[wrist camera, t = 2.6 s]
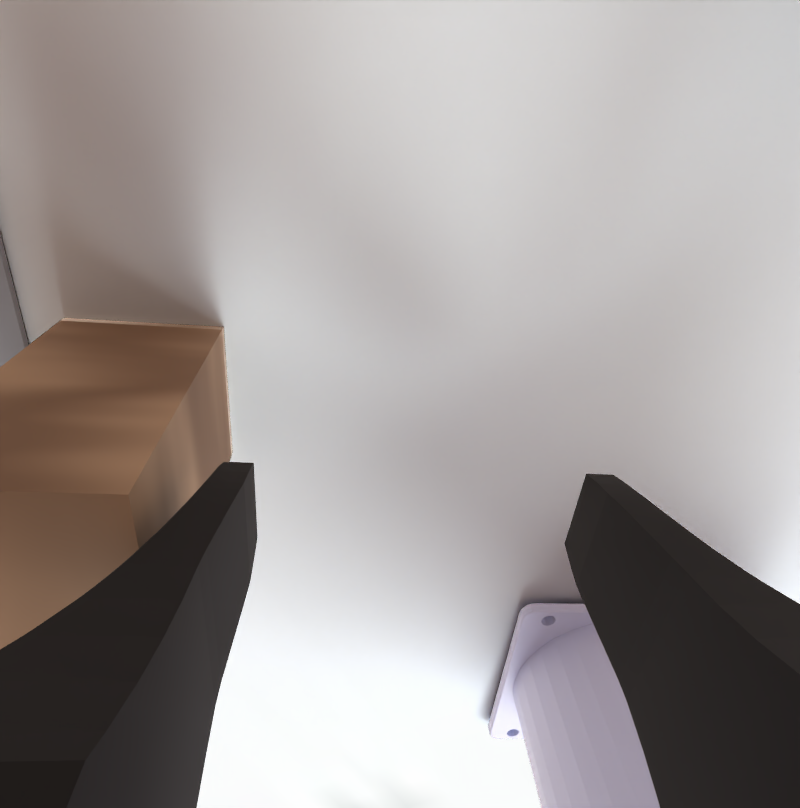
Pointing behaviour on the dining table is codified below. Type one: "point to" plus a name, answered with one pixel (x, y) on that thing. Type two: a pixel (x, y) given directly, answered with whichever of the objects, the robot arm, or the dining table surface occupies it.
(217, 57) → the dining table surface
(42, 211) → the dining table surface
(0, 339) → the slate mat
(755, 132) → the dining table surface
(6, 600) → the walnut block
